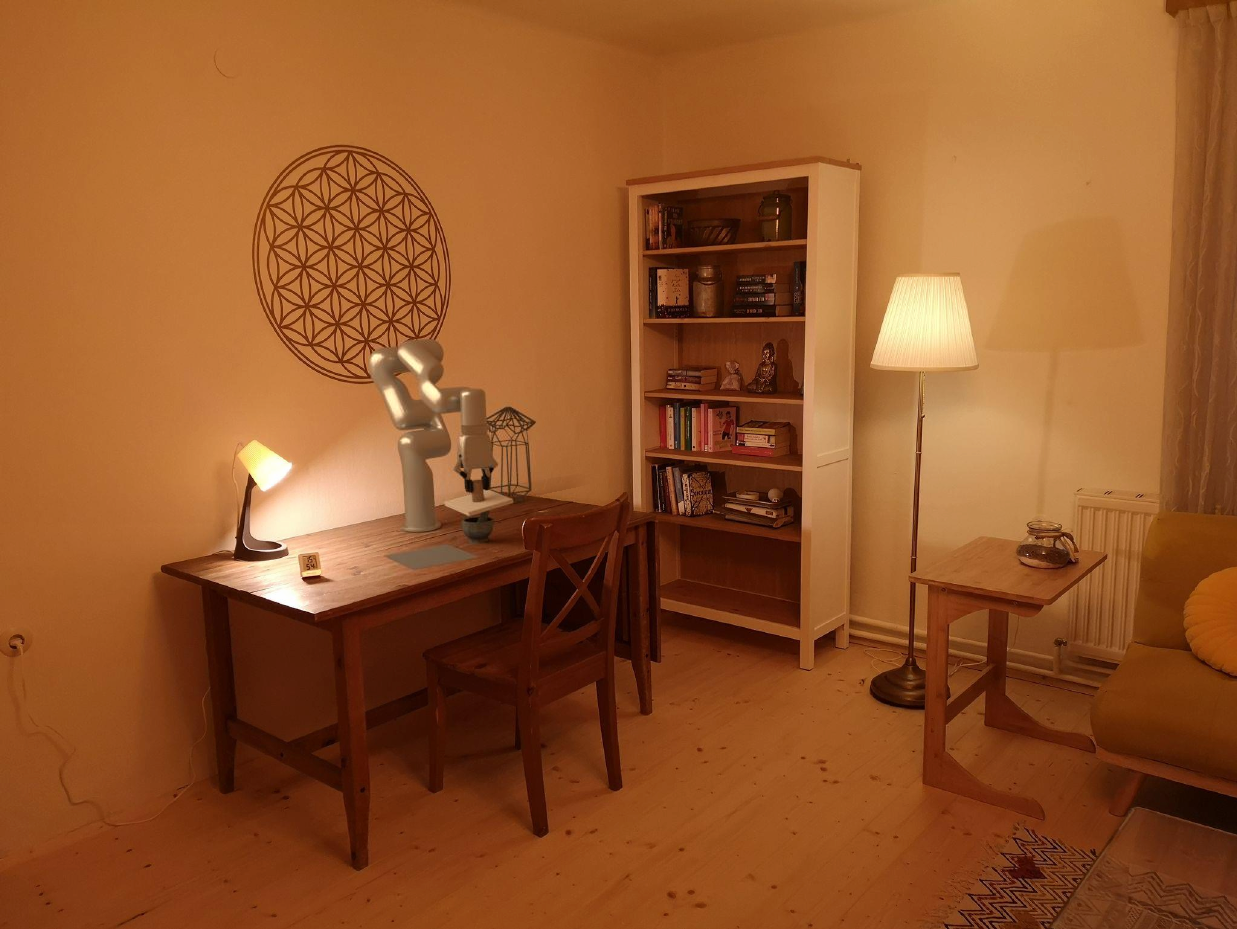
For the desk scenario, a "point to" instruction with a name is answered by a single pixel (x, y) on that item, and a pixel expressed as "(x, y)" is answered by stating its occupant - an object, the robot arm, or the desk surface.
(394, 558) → the slate mat
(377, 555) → the desk surface
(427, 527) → the robot arm
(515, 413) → the geometric lantern
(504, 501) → the cover board
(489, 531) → the mortar and pestle
